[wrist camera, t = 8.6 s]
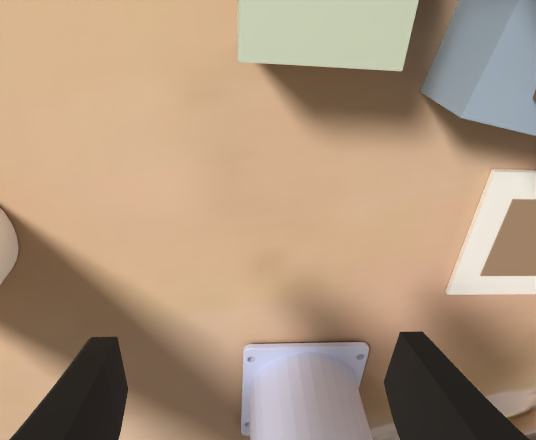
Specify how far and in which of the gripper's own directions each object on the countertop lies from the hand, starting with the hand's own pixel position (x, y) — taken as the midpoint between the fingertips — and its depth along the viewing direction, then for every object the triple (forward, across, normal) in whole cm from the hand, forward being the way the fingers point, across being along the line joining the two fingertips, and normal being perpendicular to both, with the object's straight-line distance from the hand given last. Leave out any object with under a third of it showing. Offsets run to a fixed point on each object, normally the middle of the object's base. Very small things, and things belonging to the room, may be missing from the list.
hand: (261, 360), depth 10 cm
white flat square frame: (+10, -16, +3) cm, 19 cm away
